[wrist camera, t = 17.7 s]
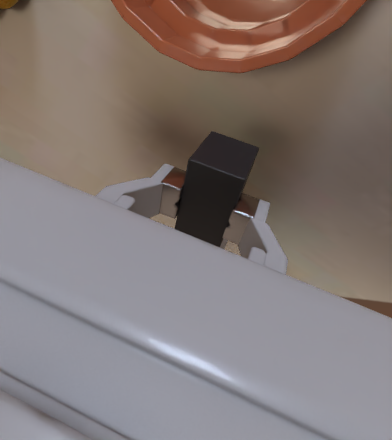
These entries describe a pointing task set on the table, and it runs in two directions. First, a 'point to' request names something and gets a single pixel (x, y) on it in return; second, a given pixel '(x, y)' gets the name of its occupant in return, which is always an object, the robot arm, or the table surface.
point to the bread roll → (7, 3)
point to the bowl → (235, 29)
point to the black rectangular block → (214, 187)
